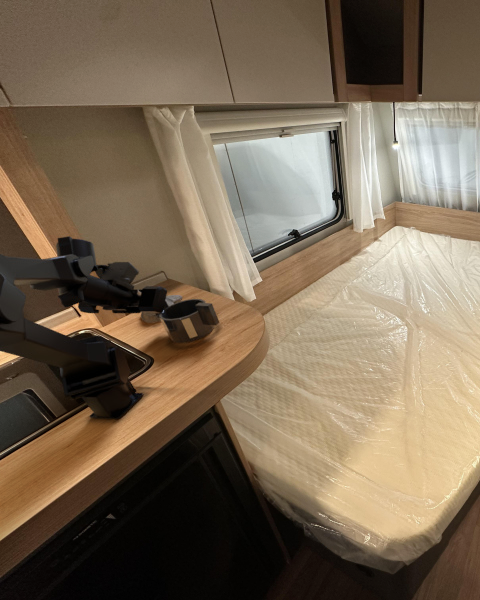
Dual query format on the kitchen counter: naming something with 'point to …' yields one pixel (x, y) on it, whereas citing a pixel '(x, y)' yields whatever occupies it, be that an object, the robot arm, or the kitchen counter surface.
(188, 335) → the pot
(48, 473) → the kitchen counter surface
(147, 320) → the fossilized seashell
